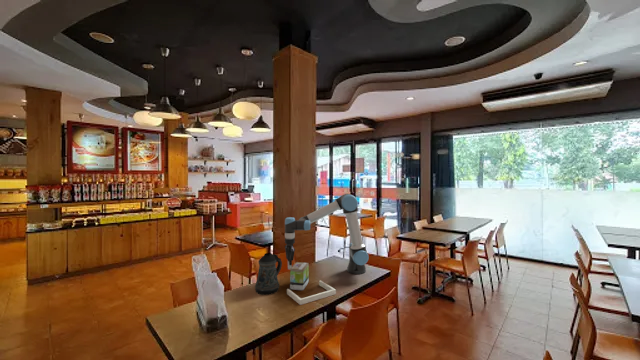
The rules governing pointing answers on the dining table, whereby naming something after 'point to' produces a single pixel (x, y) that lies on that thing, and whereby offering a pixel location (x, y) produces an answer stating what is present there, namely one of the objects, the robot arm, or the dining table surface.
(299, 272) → the tea box
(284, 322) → the dining table surface
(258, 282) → the beer stein
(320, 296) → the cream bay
